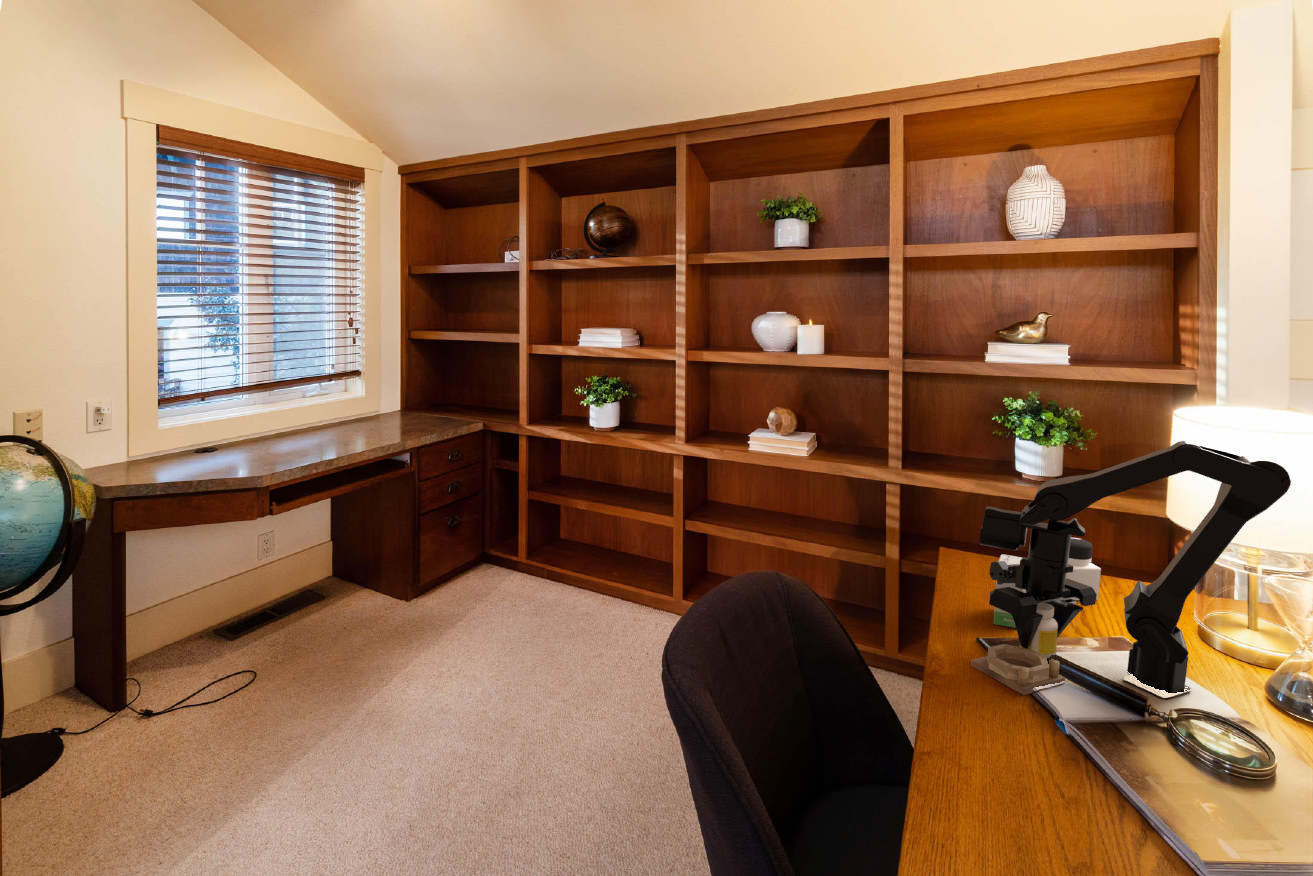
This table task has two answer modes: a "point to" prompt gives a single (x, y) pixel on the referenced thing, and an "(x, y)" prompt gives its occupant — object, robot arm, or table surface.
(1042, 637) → the supplement bottle
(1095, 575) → the medicine bottle
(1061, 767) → the table surface
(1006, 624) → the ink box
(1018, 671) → the beige octagonal holder
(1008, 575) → the robot arm
